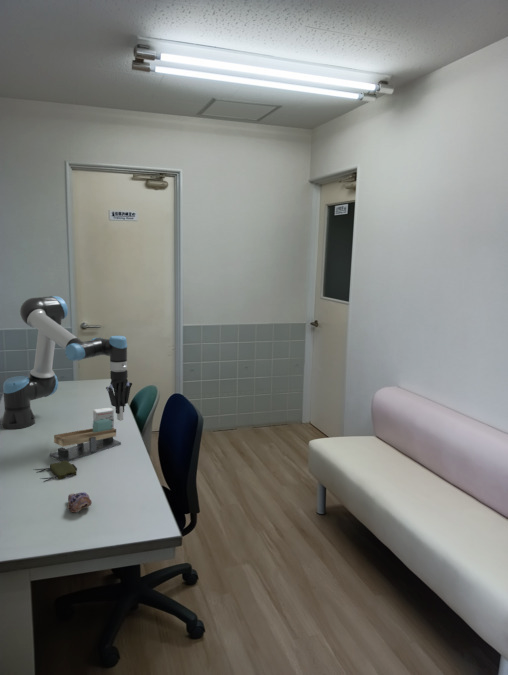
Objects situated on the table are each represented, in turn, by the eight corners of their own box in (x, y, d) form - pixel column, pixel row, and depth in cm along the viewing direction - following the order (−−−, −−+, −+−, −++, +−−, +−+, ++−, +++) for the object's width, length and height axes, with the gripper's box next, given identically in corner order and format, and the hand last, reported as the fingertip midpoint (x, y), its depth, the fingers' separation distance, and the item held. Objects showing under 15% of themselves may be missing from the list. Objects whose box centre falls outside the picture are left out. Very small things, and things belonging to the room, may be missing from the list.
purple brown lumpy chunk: (63, 502, 176) (62, 486, 175) (85, 497, 180) (84, 481, 179) (71, 518, 166) (70, 500, 165) (94, 512, 170) (94, 495, 169)
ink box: (96, 436, 237) (95, 412, 235) (93, 433, 242) (92, 409, 240) (114, 433, 242) (113, 409, 240) (111, 430, 246) (110, 406, 244)
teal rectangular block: (92, 432, 225) (93, 421, 225) (106, 429, 230) (106, 418, 230) (97, 434, 223) (98, 423, 222) (111, 431, 228) (112, 420, 228)
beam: (53, 442, 213) (53, 434, 212) (106, 432, 233) (106, 425, 233) (63, 446, 208) (63, 439, 208) (116, 436, 228) (116, 429, 228)
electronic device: (81, 469, 197) (40, 479, 188) (81, 475, 197) (41, 486, 188) (69, 457, 208) (31, 466, 199) (69, 463, 208) (31, 472, 199)
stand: (49, 456, 214) (49, 440, 213) (106, 438, 236) (106, 423, 234) (63, 463, 207) (63, 447, 206) (120, 444, 229) (120, 429, 227)
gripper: (111, 373, 222) (113, 425, 226) (135, 368, 232) (136, 418, 236) (101, 371, 227) (103, 421, 231) (125, 366, 237) (126, 414, 241)
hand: (120, 419), depth 233 cm, fingers closed
